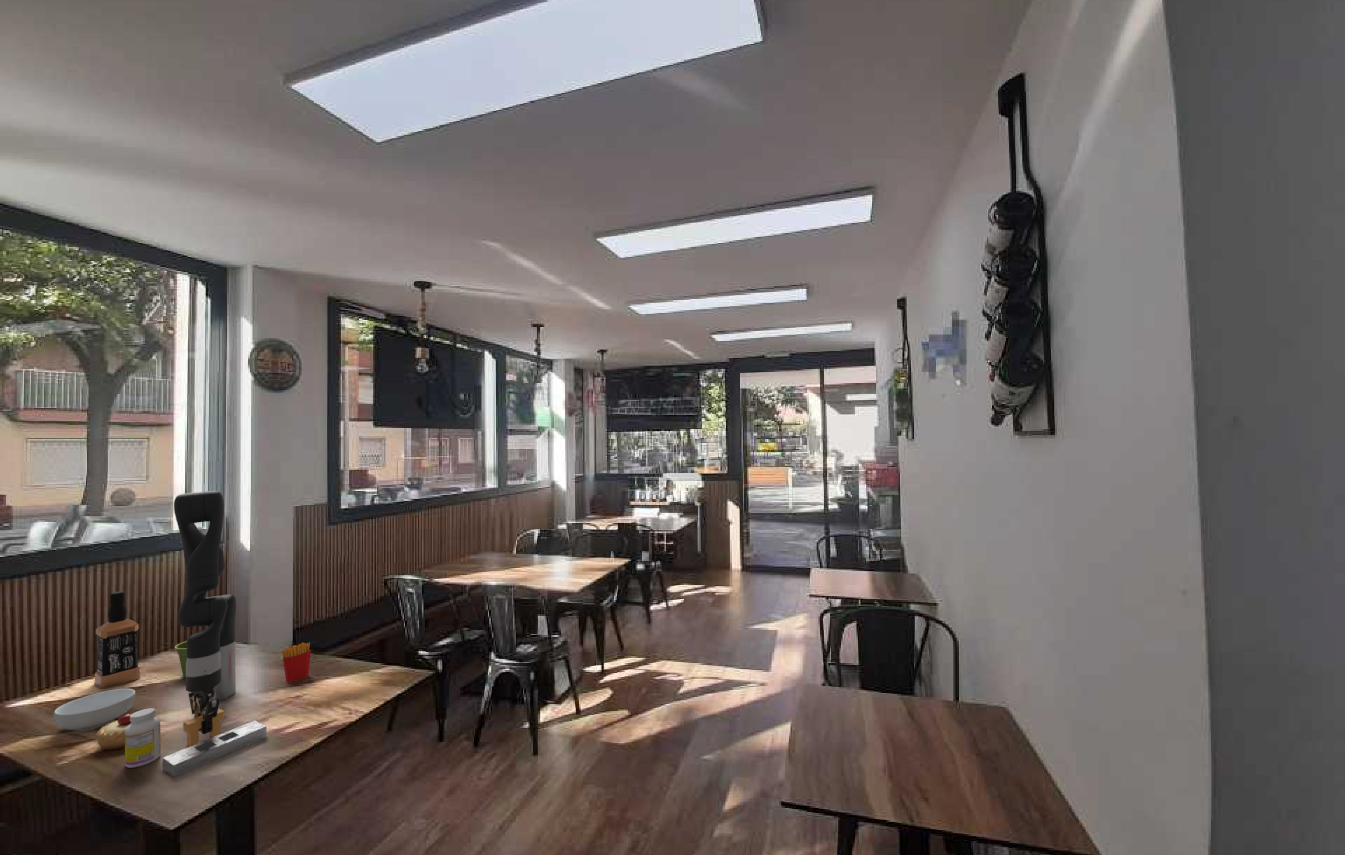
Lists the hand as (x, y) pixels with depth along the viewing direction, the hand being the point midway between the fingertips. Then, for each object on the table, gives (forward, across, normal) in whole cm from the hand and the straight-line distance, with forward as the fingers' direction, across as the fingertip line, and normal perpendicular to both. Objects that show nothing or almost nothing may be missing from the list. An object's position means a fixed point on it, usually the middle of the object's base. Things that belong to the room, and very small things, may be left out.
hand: (204, 730), depth 148 cm
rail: (+3, +11, -1) cm, 11 cm away
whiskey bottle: (+3, -80, +3) cm, 80 cm away
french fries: (+3, -20, +33) cm, 39 cm away
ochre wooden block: (+2, 0, 0) cm, 2 cm away
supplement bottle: (+3, -2, -12) cm, 13 cm away
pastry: (+3, -21, -10) cm, 23 cm away
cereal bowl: (+3, -43, -11) cm, 44 cm away
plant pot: (+3, -61, +19) cm, 64 cm away
